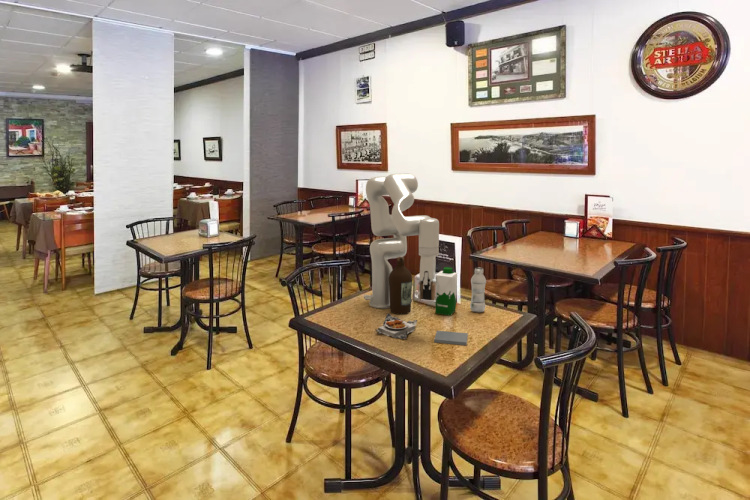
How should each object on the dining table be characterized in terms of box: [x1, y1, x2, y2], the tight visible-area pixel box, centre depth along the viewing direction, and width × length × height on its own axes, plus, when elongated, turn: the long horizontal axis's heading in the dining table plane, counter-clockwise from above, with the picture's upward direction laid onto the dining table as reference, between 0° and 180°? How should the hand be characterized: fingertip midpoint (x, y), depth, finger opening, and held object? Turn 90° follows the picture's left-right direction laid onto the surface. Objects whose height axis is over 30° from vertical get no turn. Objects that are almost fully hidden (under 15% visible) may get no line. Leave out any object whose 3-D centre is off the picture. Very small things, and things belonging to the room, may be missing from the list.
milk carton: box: [434, 266, 458, 317], centre depth 199 cm, size 9×9×20 cm
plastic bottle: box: [469, 267, 487, 313], centre depth 199 cm, size 6×7×20 cm
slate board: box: [433, 330, 469, 346], centre depth 171 cm, size 12×9×1 cm
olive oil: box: [389, 256, 413, 315], centre depth 200 cm, size 11×11×25 cm
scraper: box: [417, 279, 436, 302], centre depth 171 cm, size 6×8×7 cm
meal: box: [374, 313, 418, 340], centre depth 180 cm, size 15×4×13 cm
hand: (428, 297), depth 172 cm, fingers closed on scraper, 4 cm apart
